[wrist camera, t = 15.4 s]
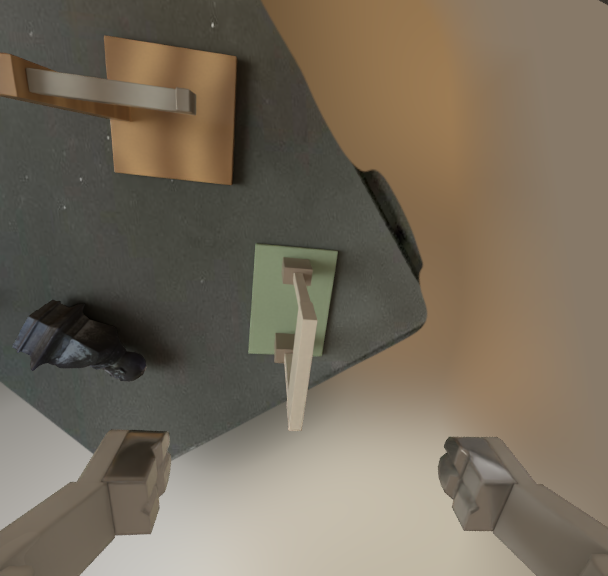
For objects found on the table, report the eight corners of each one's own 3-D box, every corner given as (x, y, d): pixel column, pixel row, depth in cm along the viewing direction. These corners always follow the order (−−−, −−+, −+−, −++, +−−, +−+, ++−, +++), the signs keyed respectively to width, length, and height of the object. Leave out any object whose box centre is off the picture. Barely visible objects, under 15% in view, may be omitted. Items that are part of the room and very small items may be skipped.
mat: (337, 250, 42) (338, 251, 42) (321, 354, 48) (321, 356, 47) (255, 243, 41) (255, 244, 41) (248, 351, 46) (248, 353, 46)
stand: (237, 59, 34) (208, -30, 17) (232, 184, 38) (205, 208, 22) (109, 39, 32) (-58, -80, 16) (118, 171, 37) (-5, 187, 20)
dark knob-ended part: (140, 376, 46) (121, 410, 40) (39, 330, 42) (1, 359, 36) (163, 341, 45) (147, 370, 39) (60, 289, 41) (24, 313, 35)
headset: (308, 259, 42) (330, 315, 27) (297, 347, 46) (311, 435, 32) (282, 256, 41) (291, 312, 27) (274, 345, 46) (277, 434, 31)
